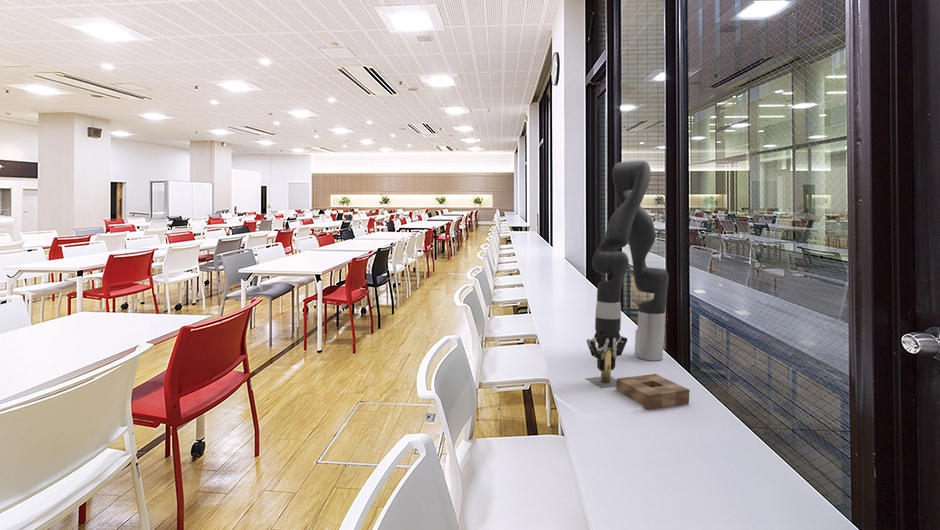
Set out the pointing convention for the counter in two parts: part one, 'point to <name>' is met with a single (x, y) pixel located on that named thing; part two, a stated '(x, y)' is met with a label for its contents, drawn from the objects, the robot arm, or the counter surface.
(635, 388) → the walnut block
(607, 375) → the brass pin
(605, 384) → the rubber mat
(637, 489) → the counter surface
